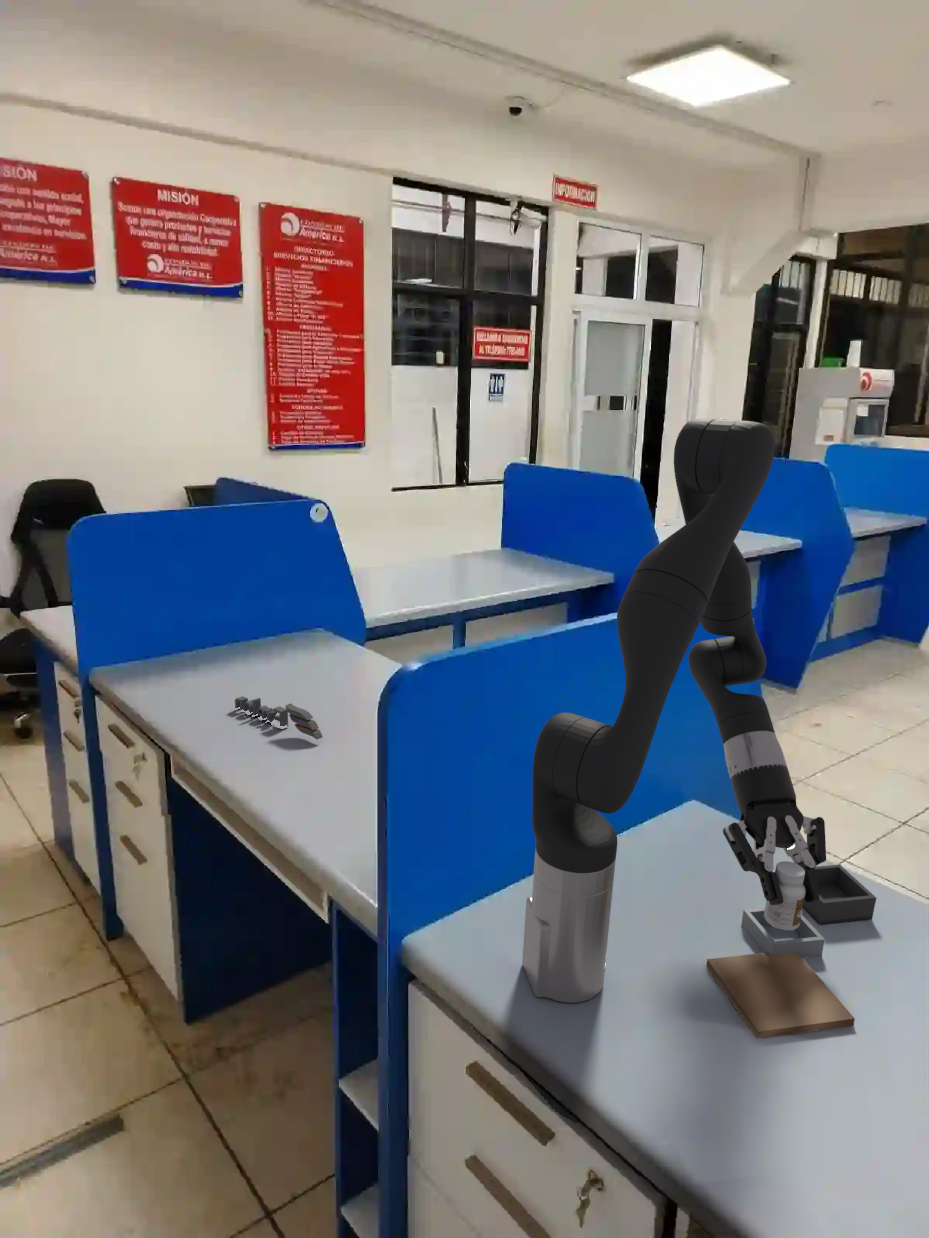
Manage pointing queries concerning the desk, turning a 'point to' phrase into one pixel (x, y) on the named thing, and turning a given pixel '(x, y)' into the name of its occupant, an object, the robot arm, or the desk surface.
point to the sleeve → (805, 946)
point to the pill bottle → (787, 897)
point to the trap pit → (840, 898)
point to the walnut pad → (778, 994)
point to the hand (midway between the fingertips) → (795, 901)
